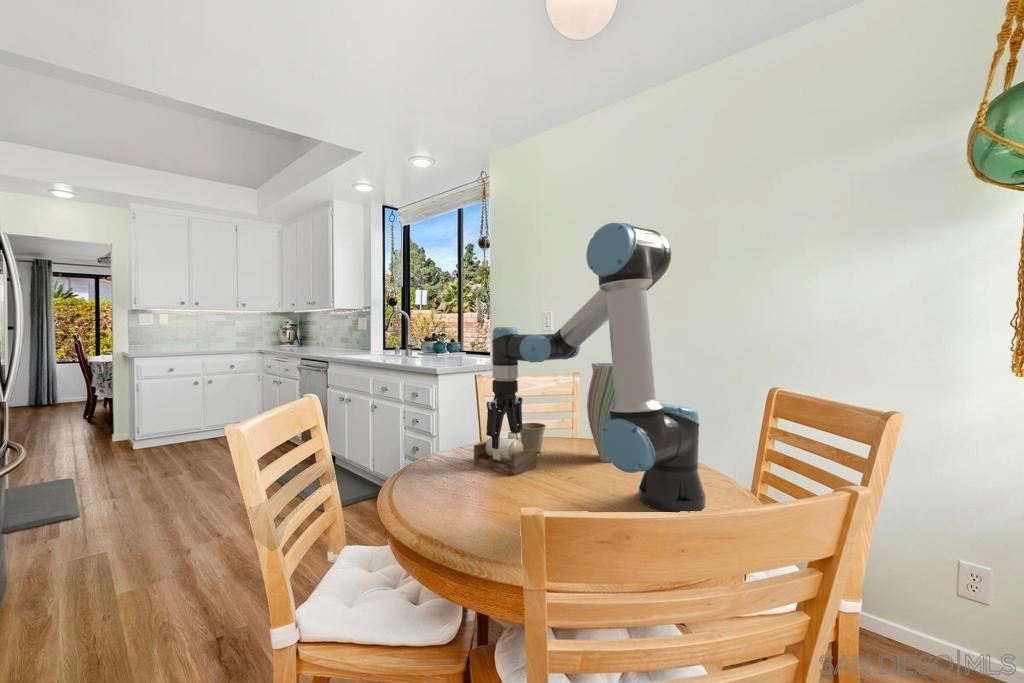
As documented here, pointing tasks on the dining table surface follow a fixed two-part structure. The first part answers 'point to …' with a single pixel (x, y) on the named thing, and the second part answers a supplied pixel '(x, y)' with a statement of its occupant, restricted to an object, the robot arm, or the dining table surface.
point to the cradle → (512, 467)
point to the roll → (505, 447)
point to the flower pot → (532, 435)
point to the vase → (600, 402)
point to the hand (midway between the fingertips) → (504, 456)
